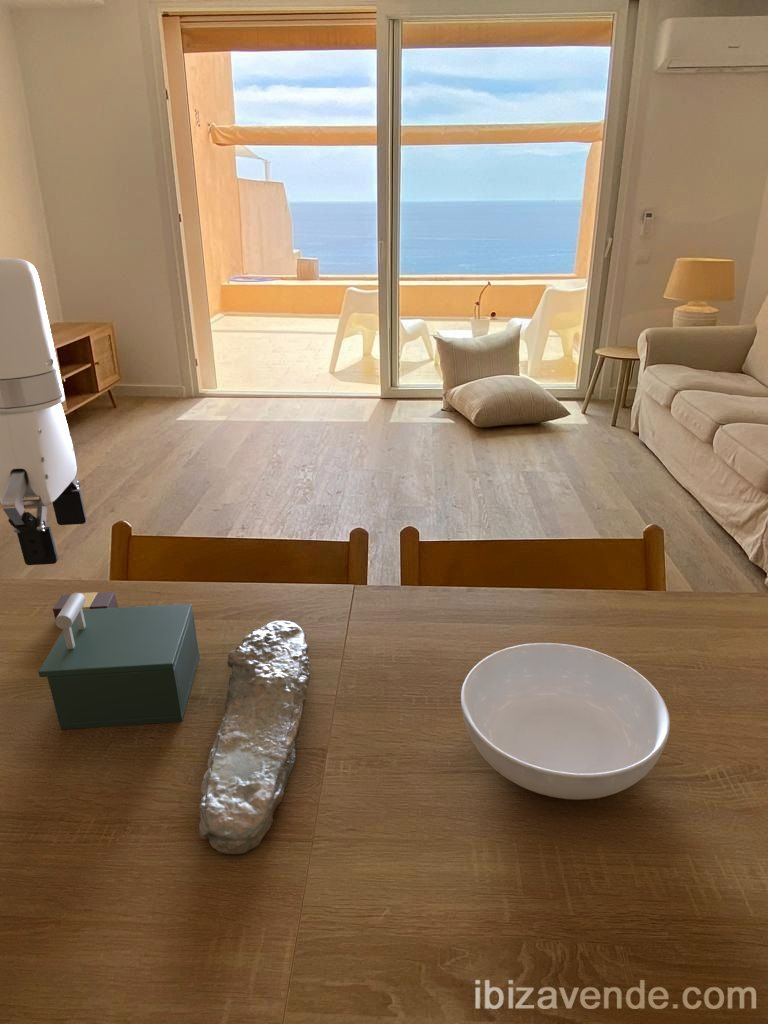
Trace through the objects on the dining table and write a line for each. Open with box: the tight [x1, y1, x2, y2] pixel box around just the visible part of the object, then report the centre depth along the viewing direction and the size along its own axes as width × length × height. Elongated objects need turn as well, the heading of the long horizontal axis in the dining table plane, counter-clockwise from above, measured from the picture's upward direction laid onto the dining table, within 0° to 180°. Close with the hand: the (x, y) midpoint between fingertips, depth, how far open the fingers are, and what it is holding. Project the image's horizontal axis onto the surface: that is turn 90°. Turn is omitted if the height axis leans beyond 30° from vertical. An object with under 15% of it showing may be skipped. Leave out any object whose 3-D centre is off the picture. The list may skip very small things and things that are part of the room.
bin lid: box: [37, 592, 193, 678], centre depth 81 cm, size 14×13×5 cm
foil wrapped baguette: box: [198, 620, 311, 855], centre depth 78 cm, size 35×5×10 cm
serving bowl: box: [460, 642, 671, 800], centre depth 73 cm, size 21×21×7 cm
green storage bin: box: [47, 609, 200, 730], centre depth 83 cm, size 14×13×7 cm
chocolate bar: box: [52, 591, 119, 620], centre depth 100 cm, size 8×4×3 cm, turn 95°
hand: (58, 542), depth 76 cm, fingers open, 9 cm apart
